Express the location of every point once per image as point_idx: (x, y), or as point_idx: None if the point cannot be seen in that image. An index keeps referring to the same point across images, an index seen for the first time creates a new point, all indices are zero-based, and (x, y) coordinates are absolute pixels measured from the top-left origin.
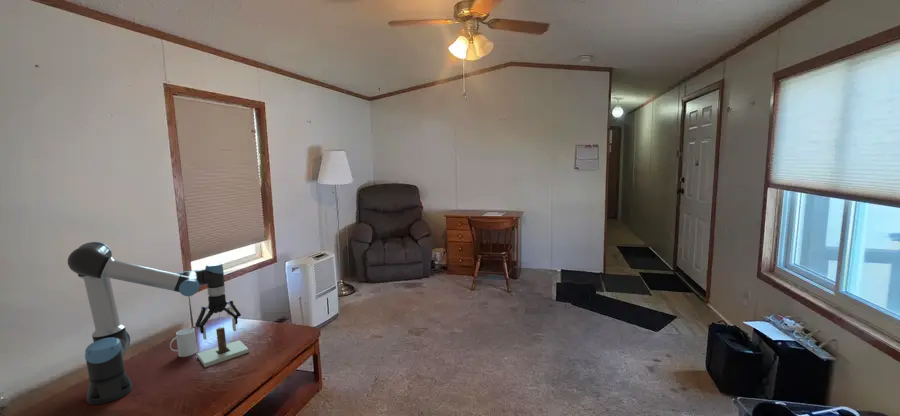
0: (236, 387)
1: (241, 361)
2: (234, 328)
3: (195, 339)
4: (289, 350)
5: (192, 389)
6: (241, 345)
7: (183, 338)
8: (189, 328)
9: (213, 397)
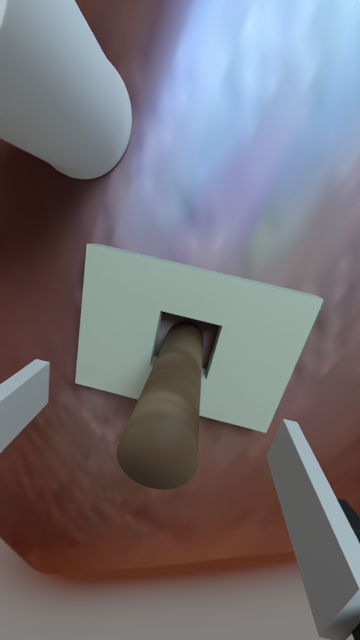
0: (100, 550)
1: None
2: (275, 483)
3: (82, 105)
4: None
5: (11, 465)
6: (275, 374)
7: None
8: None
9: (42, 537)
